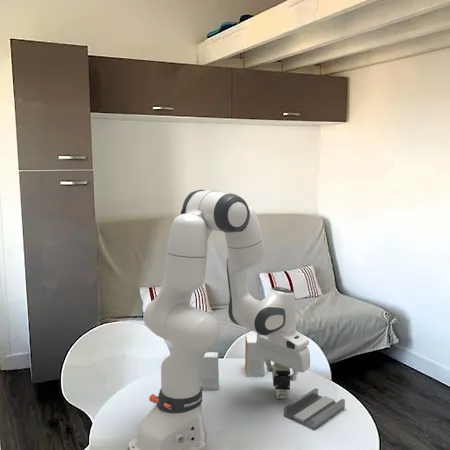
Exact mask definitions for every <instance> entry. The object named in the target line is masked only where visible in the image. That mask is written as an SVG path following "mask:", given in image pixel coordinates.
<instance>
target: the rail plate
mask: <svg viewBox="0 0 450 450" xmlns="http://www.w3.org/2000/svg"><path fill="white" fill-rule="evenodd" d="M345 407H346V399H344V398H341V399H340V400H338V401H337V402H336V401H335V399H334V398H331V397H329V396H326V395H324V396H322V395H319V389H318V388H316V387H315V388H313V389H312V390H310V391H308V392H306V393H305V394H303V395H301V396H300V397H299V398H297V399H295V400H293V401H292V402H290V403H288V404H287V405H285V406H284V407H283V417H285V418H287V419H289V420H291V421H293V422H296V423H298V424H300V425H302V426H304V427H307V428H309V429H311V430H313V431H316V430H317V429H318V428H320V427H321V426H322V425H324V424H325V423H326V422H328V421H329V420H330V419H333V418H334V417H335V416H336V415H338V414H339V413H341V412H342V411H343V410H344V408H345ZM341 410H342V411H341ZM340 411H341V412H340ZM337 413H338V414H337Z"/></svg>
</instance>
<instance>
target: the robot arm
mask: <svg viewBox="0 0 450 450" xmlns="http://www.w3.org/2000/svg"><path fill="white" fill-rule="evenodd" d="M181 207H182V208H181V210H180V214H179V215H178V216H175V218H174V219H173V221H172V222H171V226H170V230H169V235H168V239H167V244H166V254H165V263H164V273H163V280H162V283H161V286H160V289H159V291H158V293H157V295H156V297H155V298H154V299H152V300H151V301H150V302H149V303H148V304H147V305H146V307H145V308H144V313H143V322H144V325H145V326H146V327H147V328H148V329H149V330H150V332H152V333H153V334H154V335H156V336H158V337H159V338H162V339H164V340H166V341H169V342H170V343H171V347H172V349H171V354H170V355H168V356H167V357H166V358H164V359H163V360H162V362H161V365H160V366H161V367H160V380H161V381H160V383H161V384H160V385H161V388H160V389H159V391H158V392H159V393H158V396H157V395H156V394H153V393H152V394H150V395H149V397H148V399H149V402H151V403H153V404H155V405H154V407H153V408H152V409H151V410H150V411H149V413H148V414H147V415H146V416H145V418H143V419H142V421H141V422H140V423H139V424H138V427H137V428H138V429H137V432H136V437H134V438H133V439H132V440H130V441H129V442H128V446H127V447H128V450H205V449H207V444H206V443H207V442H206V439H207V435H208V434H207V430H206V427H205V424H204V418H203V417H204V416H203V409H202V403H203V389H202V387H201V364H202V360H203V357H204V355H205V353H206V352H209V351H210V350H211V349H212V348H214V347H215V346H216V344H217V342H218V340H219V339H220V338H219V337H220V336H221V334H220V333H221V328H220V323H219V321H218V320H217V318H215V317H214V316H213V315H211V314H210V313H208V312H207V311H206V310H203V309H201V308H199V307H195V306H193V305H191V299H192V296H193V294H194V292H195V291H197V290H199V289H201V287H203V285H204V284H205V281H206V270H207V260H208V242H209V238H210V236H211V234H212V232H213V231H214V232H223V233H224V236H225V244H226V247H227V252H228V254H227V255H228V256H227V259H226V277H227V284H228V294H229V301H228V302H229V303H228V308H227V309H228V312H227V313H228V318H229V319H230V321H231V322H232V323H233V324H235V325H238V326H240V327H243V328H245V329H248V330H249V331H251V332H254V333H255V334H257V340H256V346H255V353H256V355H257V356H259V357H262V358H264V365H266V371H267V373H268V372H269V373H272V362H273V363H274V362H275V363H278V364H280V365H283V366H286V367H288V368H290V370H292V374H290V382H291V381H292V382H296V381H297V378H298V377H297V375H299V373H305V372H306V371H308V370H309V369H310V367H311V351H310V349H309V347H308V346H309V344H310V340H309V339H308V338H307V337H306V336H304V335H303V334H302V333H301V332H299V331H298V330H297V328H296V326H297V325H296V322H295V321H296V317H297V303H296V296H295V292H293V290H291V289H289V288H286V287H280V286H274V287H271V289H270V290H269V291H270V292H269V293H268V294H267V295H266V297H264V298H263V299H261V300H258V299H256V298H254V297H253V296H252V295H251V294H250V292H249V286H248V276H247V272H248V271H250V270H252V269H255V267H258V266H259V265H260V264H261V263H262V262H263V260H264V258H265V257H266V246H265V244H266V243H265V241H264V235H263V231H262V227H261V224H260V221H259V218H258V216H257V213H256V211H255V209H254V208H253V207H251V205H248V204H247V202H246V201H245V199H243V197H241V196H240V195H237V194H235V193H232V192H231V193H228V192H224V191H223V192H222V191H220V190H215V189H209V190H206V189H198V190H194V191H192V192H190V193H189V194H187V196H186V197H185V199H184V201H183V204H182V206H181Z"/></svg>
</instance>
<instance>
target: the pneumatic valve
mask: <svg viewBox="0 0 450 450" xmlns="http://www.w3.org/2000/svg"><path fill="white" fill-rule="evenodd" d="M271 365H272V372H271V377H272V385H273V387H274V389H275V390H276V391H275V397H276V399H288V396H287V391H288V390H291V380H290V375H291V368H288V367H286V366H283V365H280V364H278V363H275V362H273V364H272V363H271Z"/></svg>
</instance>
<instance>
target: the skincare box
mask: <svg viewBox="0 0 450 450" xmlns="http://www.w3.org/2000/svg"><path fill="white" fill-rule="evenodd" d="M219 370H220V369H219V352H218V351H217V352H215V351H213V352H211V351H207V352H206V353H205V355H204V357H203V360H202V364H201V387H202V391H203V390H207V391H209V390H212V391H213V390H215V391H216V390H219V387H220V379H219V377H220V376H219V374H220V373H219Z"/></svg>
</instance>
